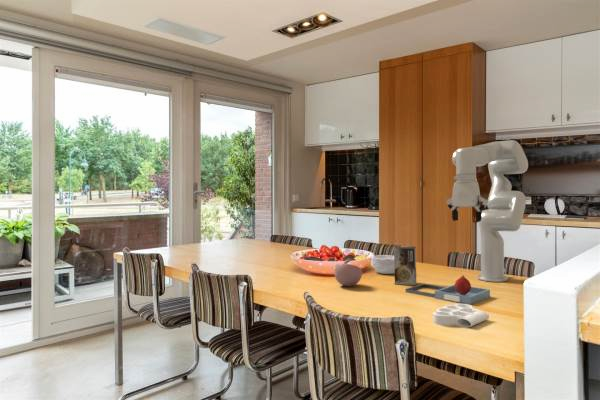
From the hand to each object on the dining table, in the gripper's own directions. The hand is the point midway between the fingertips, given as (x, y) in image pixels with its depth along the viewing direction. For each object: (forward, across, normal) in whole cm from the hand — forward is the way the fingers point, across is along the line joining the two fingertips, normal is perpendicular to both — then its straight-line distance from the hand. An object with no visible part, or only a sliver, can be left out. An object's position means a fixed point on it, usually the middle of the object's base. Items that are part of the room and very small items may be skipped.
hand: (466, 221), depth 178 cm
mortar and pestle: (+28, -41, -26) cm, 56 cm away
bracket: (+28, -10, -12) cm, 32 cm away
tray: (+28, +4, -12) cm, 31 cm away
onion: (+28, +4, -12) cm, 31 cm away
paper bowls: (+29, -47, +10) cm, 56 cm away
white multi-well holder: (+29, +16, -39) cm, 51 cm away
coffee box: (+28, -26, -5) cm, 39 cm away
